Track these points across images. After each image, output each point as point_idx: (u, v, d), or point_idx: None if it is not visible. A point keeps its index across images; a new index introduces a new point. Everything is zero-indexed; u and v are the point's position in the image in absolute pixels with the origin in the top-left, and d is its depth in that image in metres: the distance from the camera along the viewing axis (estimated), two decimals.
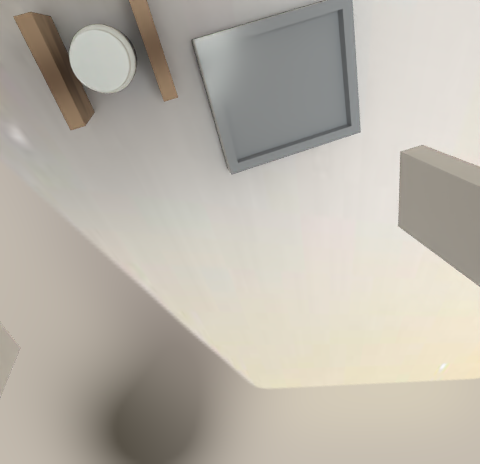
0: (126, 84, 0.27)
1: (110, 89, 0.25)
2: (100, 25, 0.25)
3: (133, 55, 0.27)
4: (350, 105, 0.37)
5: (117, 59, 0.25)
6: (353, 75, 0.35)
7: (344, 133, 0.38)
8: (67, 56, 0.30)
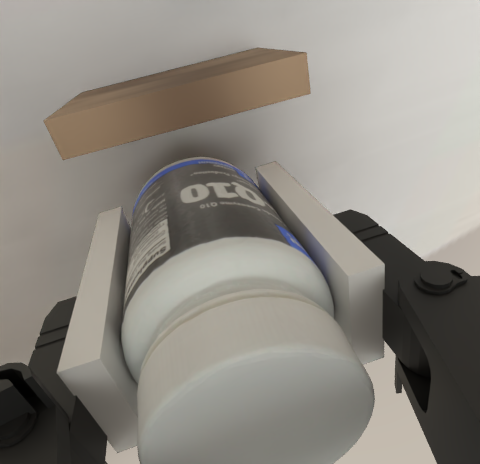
0: (319, 279, 0.07)
1: (369, 403, 0.06)
2: (124, 346, 0.07)
3: (222, 252, 0.06)
4: None
5: (260, 392, 0.05)
6: None
7: None
8: None
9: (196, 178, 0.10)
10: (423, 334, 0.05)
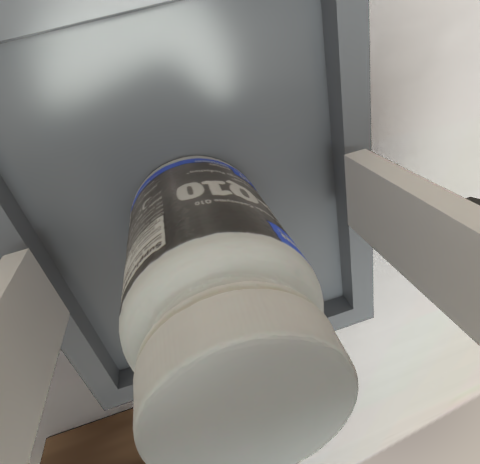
0: (308, 273, 0.08)
1: (353, 390, 0.06)
2: (121, 337, 0.07)
3: (214, 246, 0.07)
4: None
5: (248, 377, 0.05)
6: None
7: None
8: None
9: (192, 176, 0.10)
10: None
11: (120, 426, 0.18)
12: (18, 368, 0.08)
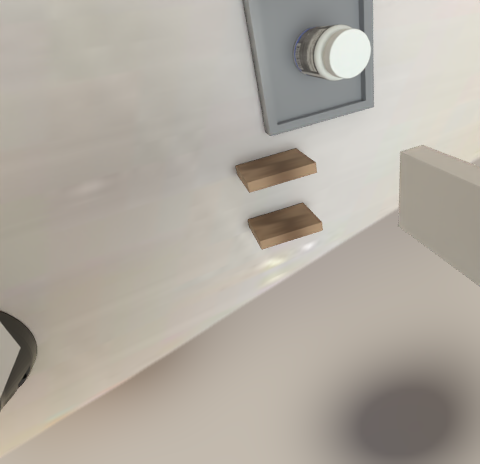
0: None
1: (369, 50, 0.31)
2: (316, 50, 0.32)
3: (340, 25, 0.32)
4: None
5: (351, 39, 0.30)
6: None
7: None
8: (270, 215, 0.47)
9: (321, 26, 0.35)
10: None
11: (267, 158, 0.43)
12: None
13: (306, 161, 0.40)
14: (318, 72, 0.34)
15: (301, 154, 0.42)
